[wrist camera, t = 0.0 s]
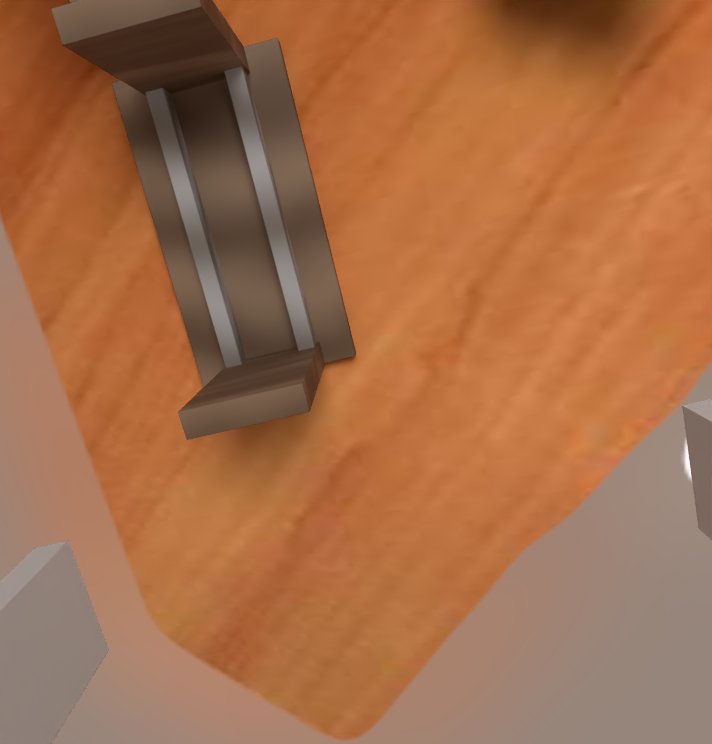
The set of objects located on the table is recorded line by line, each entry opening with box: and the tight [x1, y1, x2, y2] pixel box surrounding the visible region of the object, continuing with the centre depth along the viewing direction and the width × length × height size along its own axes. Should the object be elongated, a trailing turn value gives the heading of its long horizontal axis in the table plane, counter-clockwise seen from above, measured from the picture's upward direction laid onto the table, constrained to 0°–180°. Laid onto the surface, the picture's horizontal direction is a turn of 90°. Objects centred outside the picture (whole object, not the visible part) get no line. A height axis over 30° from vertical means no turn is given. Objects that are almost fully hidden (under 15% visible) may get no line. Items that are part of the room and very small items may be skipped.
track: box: [51, 0, 356, 440], centre depth 33 cm, size 19×10×12 cm, turn 14°
